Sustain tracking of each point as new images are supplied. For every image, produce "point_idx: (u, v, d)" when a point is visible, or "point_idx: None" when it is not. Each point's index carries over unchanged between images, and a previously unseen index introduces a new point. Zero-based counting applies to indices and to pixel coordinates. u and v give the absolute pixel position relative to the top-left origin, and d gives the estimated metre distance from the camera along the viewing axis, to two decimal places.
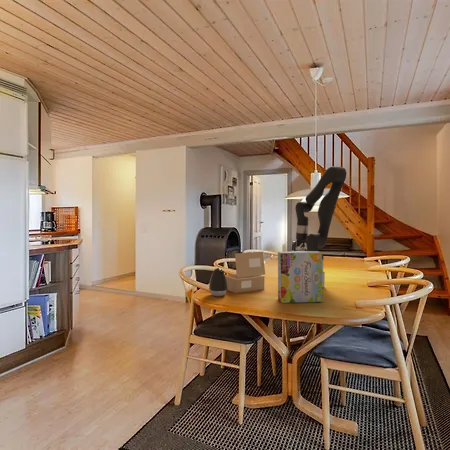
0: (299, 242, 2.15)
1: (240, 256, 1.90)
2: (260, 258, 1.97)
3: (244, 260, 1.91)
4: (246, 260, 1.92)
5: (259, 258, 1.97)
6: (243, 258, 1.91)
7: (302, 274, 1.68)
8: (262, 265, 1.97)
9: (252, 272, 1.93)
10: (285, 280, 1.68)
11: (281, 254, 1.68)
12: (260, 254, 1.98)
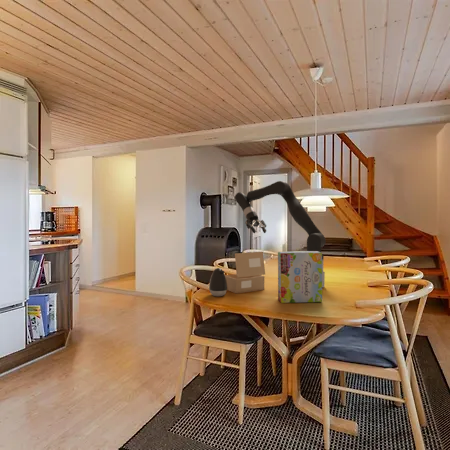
0: (251, 220, 2.24)
1: (240, 256, 1.90)
2: (260, 258, 1.97)
3: (244, 260, 1.91)
4: (246, 260, 1.92)
5: (259, 258, 1.97)
6: (243, 258, 1.91)
7: (302, 274, 1.68)
8: (262, 265, 1.97)
9: (252, 272, 1.93)
10: (285, 280, 1.68)
11: (281, 254, 1.68)
12: (260, 254, 1.98)
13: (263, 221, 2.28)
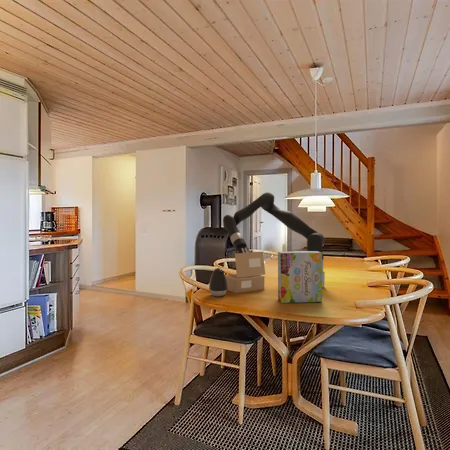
0: (239, 250, 1.98)
1: (240, 256, 1.90)
2: (260, 258, 1.97)
3: (244, 260, 1.91)
4: (246, 260, 1.92)
5: (259, 258, 1.97)
6: (243, 258, 1.91)
7: (302, 274, 1.68)
8: (262, 265, 1.97)
9: (252, 272, 1.93)
10: (285, 280, 1.68)
11: (281, 254, 1.68)
12: (260, 254, 1.98)
13: None
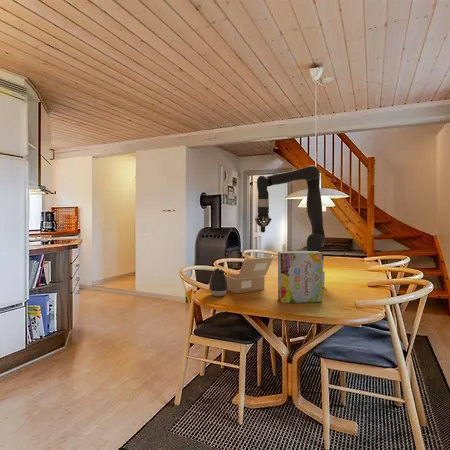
0: (260, 217, 2.18)
1: (248, 262, 1.83)
2: (267, 263, 1.91)
3: (251, 264, 1.85)
4: (253, 265, 1.86)
5: (266, 263, 1.91)
6: (251, 263, 1.85)
7: (302, 274, 1.68)
8: (266, 268, 1.94)
9: (253, 274, 1.91)
10: (285, 280, 1.68)
11: (281, 254, 1.68)
12: (269, 259, 1.90)
13: (270, 220, 2.22)
